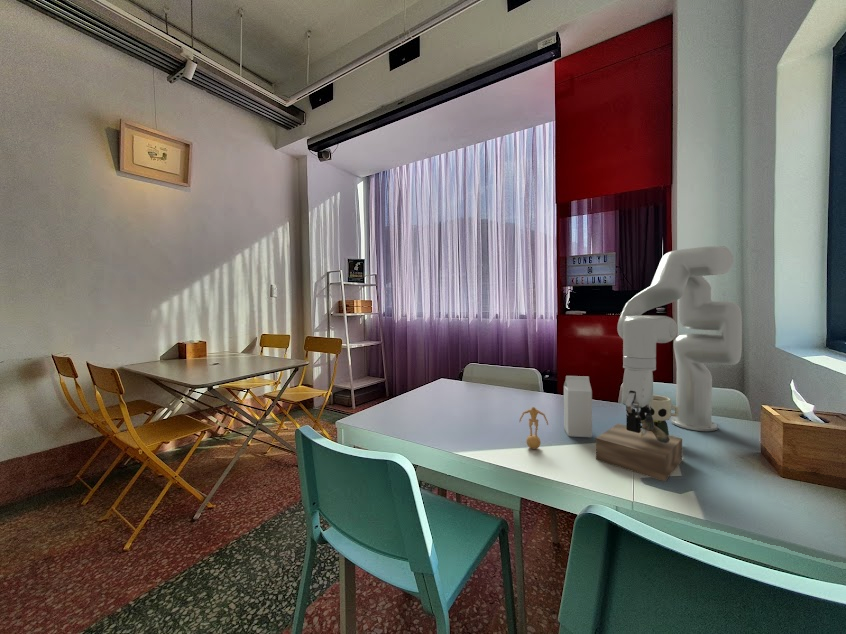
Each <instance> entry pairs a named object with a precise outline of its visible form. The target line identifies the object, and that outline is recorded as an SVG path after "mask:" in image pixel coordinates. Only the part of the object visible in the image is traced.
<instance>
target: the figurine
mask: <svg viewBox="0 0 846 634" xmlns="http://www.w3.org/2000/svg"><path fill="white" fill-rule="evenodd" d="M528 413H529V415H530V418H529V419H528V427H529V430H530V431H529V435H528V437H527V438H526V445H527V446H528V447H529V448H530V449H532V450H536V449H539V448H540V446H541V439H540V437H539V436H538V430H539V428H538V427H539V419H538V418H537V416H538V414H539V415H542V416H543V418H544V420H545V422H546V425H549V422H548V421H549V420H548V419H547V416H546V414H545V413H544V412H541V411H540V410H538V409H537V408H536V407H535V406H532V407H531V409H530V408H529V409H528V410H525V411H523V412H522V414H521V416H520V418H519V423H521V421H522V418H523V417H524V415H526V414H528ZM533 424H534V426H535V428H534V430H535V431H534V434H533V428H532V425H533Z"/></svg>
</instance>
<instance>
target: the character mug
mask: <svg viewBox="0 0 846 634" xmlns="http://www.w3.org/2000/svg"><path fill="white" fill-rule="evenodd" d="M650 404H651V415H652V417H653V420H654V425H655V426H656V427H658V428H659V429H661V430H662V431H663V432H665V433H666V434H667V435H669V436H670V434H669V426H668V422H667V421H670V420H671V418H672V417H674V416H676V417H677V416H678V415H679V407H678V406H676V405H674V404H672V399H671V398H670V397H667V396H663V395H658V394H653V400H652V402H650ZM636 405H638V404H636ZM672 409H674V412H672ZM647 431H650V430H647Z"/></svg>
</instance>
